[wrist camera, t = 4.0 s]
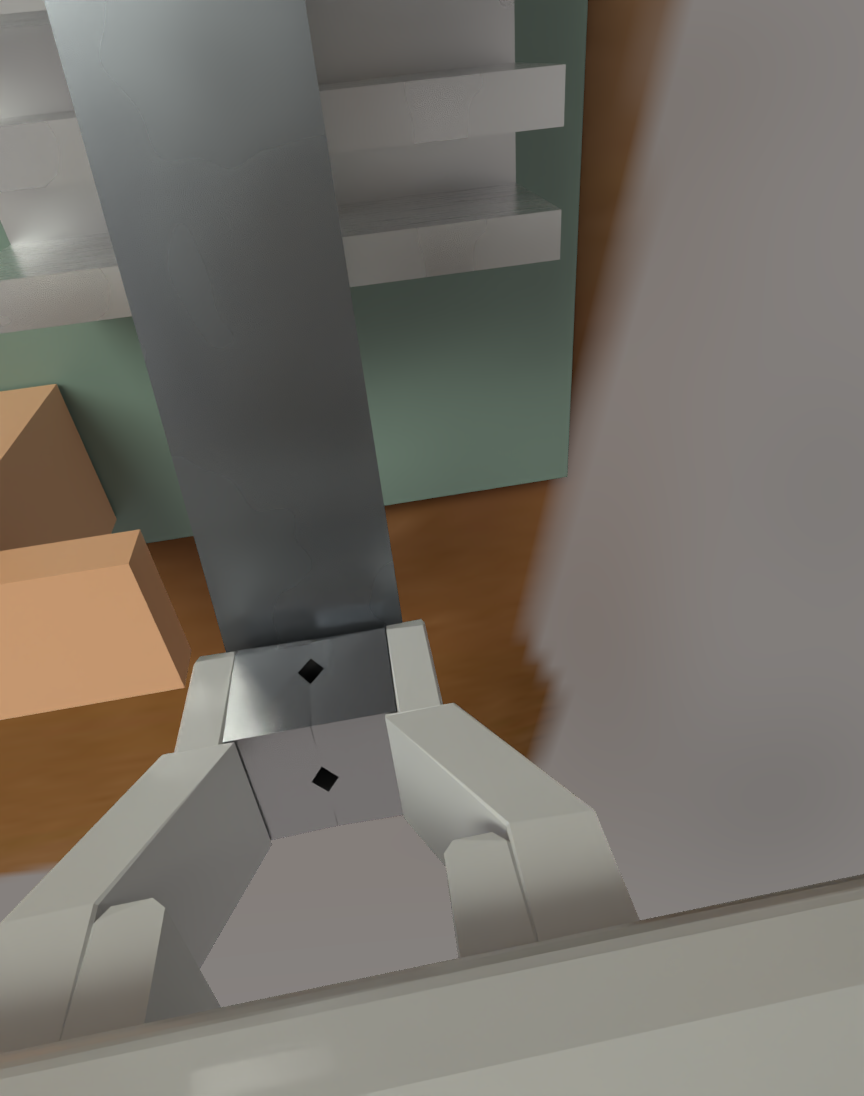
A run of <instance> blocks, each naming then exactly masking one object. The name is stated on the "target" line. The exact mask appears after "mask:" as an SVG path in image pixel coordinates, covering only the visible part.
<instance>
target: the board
mask: <svg viewBox="0 0 864 1096" xmlns="http://www.w3.org/2000/svg"><path fill="white" fill-rule="evenodd" d="M587 10H588V0H514V15H515V62H518V63H546V64H566V73H565V107H564V126H562V127H554V128H545V129H537V130H528V131H520V132H515V144H516V183H517V184H519V185H521V186H522V187H524V188H526V189H527V190H529V191H531V192H532V193H534V194H536V195H538V196H539V197H541V198H543V199H544V200H546V201H548V202H549V203H551V204H553V205H555V206H556V207H558V208H560V209H561V244H560V260H553V261H545V262H537V263H530V264H522V265H515V266H507V267H500V268H492V269H485V270H477V271H469V272H462V273H454V274H447V275H439V276H432V277H424V278H417V279H409V280H402V281H394V282H386V283H379V284H371V285H364V286H356V287H350V291H351V297H352V304H353V310H354V316H355V323H356V329H357V336H358V342H359V348H360V355H361V361H362V368H363V374H364V380H365V387H366V393H367V399H368V406H369V412H370V419H371V425H372V431H373V438H374V444H375V450H376V457H377V463H378V470H379V476H380V482H381V489H382V495H383V501H384V506H385V505H392V504H398V503H404V502H411V501H417V500H423V499H430V498H436V497H442V496H449V495H455V494H461V493H468V492H474V491H480V490H487V489H493V488H499V487H506V486H512V485H518V484H525V483H531V482H537V481H543V480H550V479H556V478H562V477H567V471H568V448H569V425H570V402H571V379H572V356H573V333H574V309H575V286H576V263H577V240H578V217H579V194H580V171H581V148H582V125H583V102H584V79H585V56H586V33H587ZM9 245H11V244H10V242H9V239H8V237H7V235H6V232H5V230H4V228H3V225H2V223H1V221H0V251H2V250H3V249H5V248H6V247H8V246H9ZM51 384H57V386H58V388H59V390H60V393H61V395H62V397H63V399H64V402H65V404H66V406H67V408H68V411H69V413H70V415H71V417H72V420H73V422H74V424H75V426H76V429H77V431H78V433H79V435H80V438H81V440H82V442H83V444H84V447H85V449H86V451H87V453H88V456H89V458H90V460H91V462H92V465H93V467H94V469H95V471H96V474H97V476H98V478H99V480H100V483H101V485H102V487H103V489H104V492H105V494H106V496H107V498H108V501H109V503H110V505H111V507H112V510H113V512H114V514H115V516H116V519H117V520H116V523H115V525H114V528H113V530H112V533H111V534H113V533H119V532H126V531H132V530H138V529H140V530H141V533H142V535H143V537H144V540H145V542H146V543H152V542H158V541H164V540H170V539H177V538H183V537H189V536H194V535H193V532H192V528H191V525H190V521H189V518H188V514H187V510H186V507H185V503H184V500H183V496H182V493H181V489H180V485H179V482H178V478H177V475H176V471H175V468H174V464H173V460H172V457H171V453H170V450H169V446H168V443H167V439H166V435H165V432H164V428H163V425H162V421H161V418H160V414H159V410H158V407H157V403H156V400H155V396H154V393H153V389H152V385H151V382H150V378H149V375H148V371H147V368H146V364H145V360H144V357H143V353H142V350H141V346H140V343H139V339H138V335H137V332H136V328H135V325H134V321H133V318H132V316H130V317H122V318H115V319H107V320H99V321H92V322H84V323H77V324H69V325H62V326H54V327H47V328H39V329H31V330H24V331H16V332H9V333H1V334H0V391H8V390H15V389H22V388H29V387H36V386H44V385H51Z"/></svg>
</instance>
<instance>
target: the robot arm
mask: <svg viewBox="0 0 864 1096" xmlns="http://www.w3.org/2000/svg"><path fill="white" fill-rule="evenodd" d="M386 632H387V635H386ZM387 639H388V641H387ZM401 815H404V819H405V820H406V821H407V822H408V823H409V824H410V826H411V827H412V828H413V829H414V830H415V831H416V833H417V834H418V835H419V836H420V837H421V839H422V840H423V841H424V842H425V843H426V844H427V845H428V847H429V848H430V849H431V850H432V851H433V853H434V854H435V855H436V856H437V857H438V858H439V860H440V861H441V862H442V863H443V864H444V866H445V867H446V872H447V880H448V887H449V894H450V902H451V909H452V915H453V923H454V931H455V937H456V944H457V952H458V958H457V959H452V960H447V961H443V962H438V963H434V964H428V965H423V966H419V967H414V968H410V969H404V970H399V971H394V972H390V973H385V974H380V975H375V976H370V977H366V978H361V979H356V980H351V981H346V982H342V983H337V984H332V985H327V986H322V987H318V988H313V989H308V990H303V991H299V992H294V993H289V994H284V995H279V996H274V997H269V998H265V999H260V1000H255V1001H250V1002H245V1003H241V1004H236V1005H231V1006H227V1007H220V1005H219V1003H218V1001H217V999H216V997H215V996H214V994H213V992H212V990H211V988H210V987H209V985H208V983H207V981H206V980H205V978H204V976H203V974H202V973H201V971H200V968H201V966H202V964H203V963H204V961H205V959H206V957H207V955H208V954H209V952H210V951H211V949H212V947H213V945H214V944H215V942H216V940H217V938H218V937H219V935H220V933H221V932H222V930H223V928H224V926H225V925H226V923H227V921H228V919H229V918H230V916H231V914H232V913H233V911H234V909H235V907H236V906H237V904H238V902H239V900H240V899H241V897H242V895H243V894H244V892H245V890H246V888H247V887H248V885H249V883H250V881H251V880H252V878H253V876H254V875H255V873H256V871H257V869H258V868H259V866H260V864H261V862H262V861H263V859H264V857H265V855H266V854H267V852H268V850H269V849H270V847H271V845H272V843H271V840H275V839H279V838H284V837H289V836H293V835H298V834H302V833H307V832H311V831H316V830H321V829H325V828H330V827H334V826H340V825H346V824H352V823H358V822H364V821H370V820H376V819H383V818H389V817H395V816H401ZM0 1096H864V874H862V875H857V876H852V877H847V878H842V879H838V880H833V881H828V882H823V883H818V884H813V885H808V886H804V887H799V888H794V889H789V890H785V891H780V892H775V893H770V894H765V895H760V896H756V897H751V898H746V899H741V900H736V901H731V902H727V903H722V904H717V905H712V906H707V907H703V908H698V909H693V910H688V911H683V912H678V913H674V914H669V915H664V916H659V917H654V918H649V919H645V920H639V917H638V915H637V912H636V910H635V908H634V905H633V903H632V900H631V898H630V895H629V893H628V890H627V888H626V886H625V883H624V881H623V878H622V876H621V874H620V871H619V868H618V866H617V864H616V861H615V859H614V856H613V854H612V852H611V849H610V847H609V844H608V842H607V839H606V837H605V834H604V832H603V829H602V827H601V825H600V822H599V820H598V817H597V815H596V812H595V810H594V809H592V808H591V807H590V806H589V805H587V804H586V803H585V802H583V801H582V800H581V799H579V798H578V797H577V796H576V795H574V794H573V793H572V792H570V791H569V790H568V789H566V788H565V787H564V786H562V785H561V784H560V783H559V782H557V781H556V780H555V779H553V778H552V777H551V776H549V775H548V774H547V773H545V772H544V771H543V770H542V769H540V768H539V767H538V766H536V765H535V764H534V763H532V762H531V761H530V760H528V759H527V758H526V757H525V756H523V755H522V754H521V753H519V752H518V751H517V750H515V749H514V748H513V747H511V746H510V745H509V744H507V743H506V742H505V741H504V740H502V739H501V738H500V737H498V736H497V735H496V734H494V733H493V732H492V731H490V730H489V729H488V728H487V727H485V726H484V725H483V724H481V723H480V722H479V721H477V720H476V719H475V718H473V717H472V716H471V715H470V714H468V713H467V712H466V711H464V710H463V709H462V708H460V707H459V706H458V705H456V704H455V703H450V704H444V705H443V703H442V698H441V694H440V689H439V685H438V680H437V676H436V672H435V667H434V663H433V658H432V654H431V649H430V645H429V640H428V636H427V631H426V627H425V623H424V622H423V621H422V620H421V619H419V620H414V621H409V622H404V623H399V624H393V625H388V626H386V630H385V627H383V628H377V629H372V630H366V631H360V632H354V633H349V634H343V635H337V636H331V637H326V638H320V639H314V640H313V639H312V640H305V641H299V642H292V643H285V644H278V645H271V646H264V647H258V648H251V649H244V650H239V651H238V652H236V651H233V652H227V653H220V654H214V655H207V656H201V657H199V659H198V660H197V661H196V663H195V664H194V667H193V671H192V675H191V680H190V684H189V689H188V693H187V698H186V702H185V707H184V711H183V716H182V720H181V725H180V729H179V734H178V738H177V743H176V747H175V752H174V753H169V754H164V755H162V756H161V757H160V758H159V759H158V760H157V761H156V762H155V763H154V764H153V765H152V766H151V767H150V768H149V769H148V770H147V771H146V772H145V773H144V774H143V775H142V776H141V777H140V778H139V780H138V781H137V782H136V783H135V784H134V785H133V786H132V787H131V788H130V789H129V790H128V791H127V792H126V793H125V794H124V795H123V796H122V797H121V798H120V799H119V800H118V801H117V802H116V803H115V804H114V805H113V807H112V808H111V809H110V810H109V811H108V812H107V813H106V814H105V815H104V816H103V817H102V818H101V819H100V820H99V821H98V822H97V823H96V824H95V825H94V826H93V827H92V828H91V829H90V830H89V831H88V832H87V834H86V835H85V836H84V837H83V838H82V839H81V840H80V841H79V842H78V843H77V844H76V845H75V846H74V847H73V848H72V849H71V850H70V851H69V852H68V853H67V854H66V855H65V856H64V857H63V858H62V859H61V860H60V862H59V863H58V864H57V865H56V866H55V867H54V868H53V869H52V870H51V871H50V872H49V873H48V874H47V875H46V876H45V877H44V878H43V879H42V880H41V881H40V882H39V883H38V884H37V885H36V887H34V889H33V890H32V891H31V892H30V893H29V894H28V895H27V896H26V897H25V898H24V899H23V900H22V901H21V902H20V903H19V904H18V905H17V906H16V907H15V908H14V909H13V910H12V911H11V912H10V913H9V915H8V916H7V917H6V918H5V919H4V920H3V921H2V922H1V923H0Z"/></svg>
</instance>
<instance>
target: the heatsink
mask: <svg viewBox="0 0 864 1096" xmlns="http://www.w3.org/2000/svg"><path fill="white" fill-rule="evenodd" d="M305 4H306V10H307V17H308V23H309V29H310V36H311V42H312V49H313V55H314V61H315V68H316V74H317V80H318V87H319V93H320V100H321V106H322V112H323V119H324V125H325V131H326V138H327V144H328V151H329V157H330V163H331V170H332V176H333V183H334V189H335V195H336V202H337V208H338V214H339V221H340V227H341V234H342V240H343V246H344V253H345V259H346V265H347V272H348V278H349V285H350V287H356V286H364V285H371V284H379V283H386V282H394V281H402V280H409V279H417V278H424V277H432V276H439V275H447V274H454V273H462V272H469V271H477V270H485V269H492V268H500V267H507V266H515V265H522V264H530V263H537V262H545V261H553V260H560V244H561V209H560V208H558V207H556V206H555V205H553V204H551V203H549V202H548V201H546V200H544V199H543V198H541V197H539V196H538V195H536V194H534V193H532V192H531V191H529V190H527V189H526V188H524V187H522V186H521V185H519V184H517V183H516V144H515V132H520V131H528V130H537V129H545V128H554V127H562V126H564V107H565V73H566V64H546V63H518V62H515V15H514V0H305ZM0 221H1V223H2V225H3V228H4V230H5V232H6V235H7V237H8V239H9V242H10V244H11V245H9V246H8V247H6V248H5V249H3V250H2V251H0V334H1V333H9V332H16V331H24V330H31V329H39V328H47V327H54V326H62V325H69V324H77V323H84V322H92V321H99V320H107V319H115V318H122V317H130V316H132V314H131V310H130V307H129V303H128V300H127V296H126V292H125V289H124V285H123V282H122V278H121V275H120V271H119V267H118V264H117V260H116V257H115V253H114V250H113V246H112V242H111V239H110V235H109V232H108V228H107V225H106V221H105V217H104V214H103V210H102V207H101V203H100V200H99V196H98V192H97V189H96V185H95V182H94V178H93V175H92V171H91V167H90V164H89V160H88V157H87V153H86V150H85V146H84V142H83V139H82V135H81V132H80V128H79V125H78V121H77V117H76V114H75V110H74V107H73V103H72V100H71V96H70V92H69V89H68V85H67V82H66V78H65V75H64V71H63V67H62V64H61V60H60V57H59V53H58V50H57V46H56V42H55V39H54V35H53V32H52V28H51V25H50V21H49V17H48V14H47V10H46V7H45V3H44V0H0Z"/></svg>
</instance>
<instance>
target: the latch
mask: <svg viewBox="0 0 864 1096" xmlns="http://www.w3.org/2000/svg"><path fill="white" fill-rule="evenodd" d="M116 520H117V519H116V516H115V514H114V512H113V510H112V507H111V505H110V503H109V501H108V498H107V496H106V494H105V492H104V489H103V487H102V485H101V483H100V480H99V478H98V476H97V474H96V471H95V469H94V467H93V465H92V462H91V460H90V458H89V456H88V453H87V451H86V449H85V447H84V444H83V442H82V440H81V438H80V435H79V433H78V431H77V429H76V426H75V424H74V422H73V420H72V417H71V415H70V413H69V411H68V408H67V406H66V404H65V402H64V399H63V397H62V395H61V393H60V390H59V388H58V386H57V384H51V385H44V386H36V387H29V388H22V389H15V390H8V391H0V720H3V719H8V718H14V717H20V716H25V715H31V714H37V713H43V712H48V711H54V710H60V709H65V708H71V707H77V706H83V705H88V704H94V703H100V702H105V701H111V700H117V699H123V698H128V697H134V696H140V695H145V694H151V693H157V692H163V691H168V690H174V689H180V688H185V683H186V678H187V672H188V666H189V661H190V655H191V648H190V646H189V644H188V641H187V639H186V636H185V634H184V632H183V629H182V627H181V625H180V622H179V620H178V618H177V615H176V613H175V610H174V608H173V606H172V603H171V601H170V599H169V596H168V594H167V592H166V589H165V587H164V585H163V582H162V580H161V577H160V575H159V573H158V570H157V568H156V566H155V563H154V561H153V559H152V556H151V554H150V551H149V549H148V547H147V544H146V542H145V540H144V537H143V535H142V533H141V530H140V529H138V530H132V531H126V532H119V533H113V534H111V533H112V530H113V528H114V525H115V523H116Z"/></svg>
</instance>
